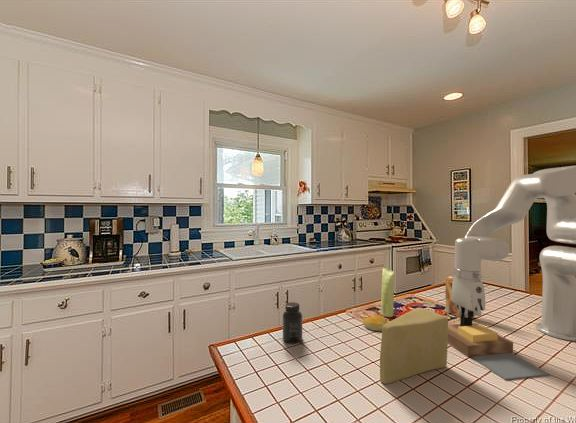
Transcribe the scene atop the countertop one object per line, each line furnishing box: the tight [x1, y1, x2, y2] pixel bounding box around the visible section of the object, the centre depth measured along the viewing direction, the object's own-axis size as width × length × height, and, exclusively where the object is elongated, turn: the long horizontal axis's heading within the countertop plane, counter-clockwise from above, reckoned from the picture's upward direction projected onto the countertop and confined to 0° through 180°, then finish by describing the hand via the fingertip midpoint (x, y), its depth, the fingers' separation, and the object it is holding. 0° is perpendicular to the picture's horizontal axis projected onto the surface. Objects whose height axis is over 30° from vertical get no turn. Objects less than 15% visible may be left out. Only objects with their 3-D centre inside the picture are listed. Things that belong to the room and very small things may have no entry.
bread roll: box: [362, 314, 389, 332], centre depth 103 cm, size 8×9×4 cm
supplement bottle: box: [282, 301, 303, 344], centre depth 93 cm, size 7×7×12 cm
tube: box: [380, 267, 395, 318], centre depth 113 cm, size 6×5×20 cm
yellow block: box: [458, 324, 499, 342], centre depth 88 cm, size 9×6×2 cm, turn 99°
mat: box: [471, 352, 550, 381], centre depth 78 cm, size 14×11×1 cm
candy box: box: [445, 276, 470, 317], centre depth 114 cm, size 9×4×15 cm, turn 33°
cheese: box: [379, 307, 449, 385], centre depth 75 cm, size 22×10×15 cm, turn 120°
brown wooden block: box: [448, 322, 514, 358], centre depth 90 cm, size 16×14×4 cm
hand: (466, 327), depth 92 cm, fingers closed
